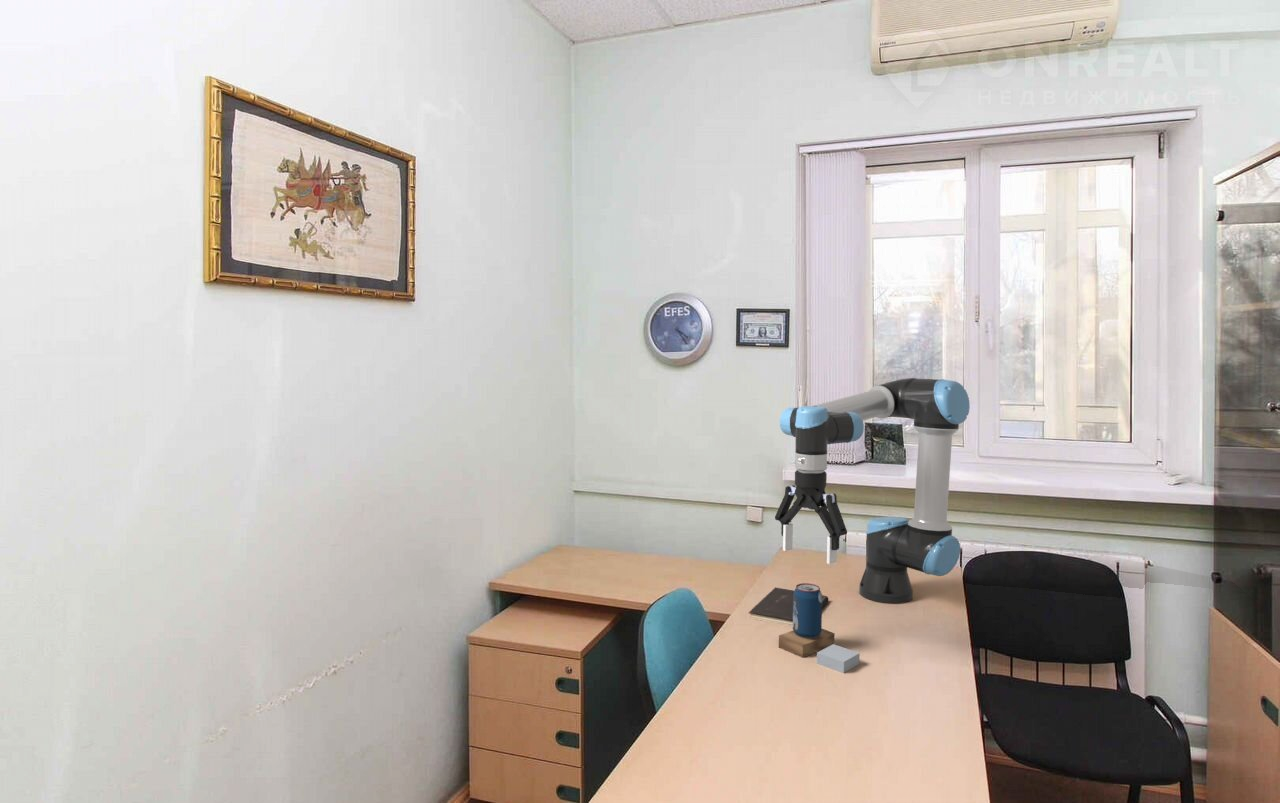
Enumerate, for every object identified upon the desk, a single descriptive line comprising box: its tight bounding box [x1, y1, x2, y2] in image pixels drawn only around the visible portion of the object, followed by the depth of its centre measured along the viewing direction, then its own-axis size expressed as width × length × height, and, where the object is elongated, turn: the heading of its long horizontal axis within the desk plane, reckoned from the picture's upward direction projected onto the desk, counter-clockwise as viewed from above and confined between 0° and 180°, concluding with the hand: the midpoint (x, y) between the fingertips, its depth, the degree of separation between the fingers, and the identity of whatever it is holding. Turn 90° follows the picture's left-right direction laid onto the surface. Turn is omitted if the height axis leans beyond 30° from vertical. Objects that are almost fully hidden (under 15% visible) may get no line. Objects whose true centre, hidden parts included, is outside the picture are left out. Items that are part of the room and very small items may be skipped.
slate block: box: [816, 643, 861, 674], centre depth 174 cm, size 7×7×3 cm
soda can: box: [792, 582, 823, 639], centre depth 183 cm, size 7×7×12 cm
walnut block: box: [778, 627, 835, 658], centre depth 184 cm, size 12×8×3 cm, turn 128°
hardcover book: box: [748, 587, 829, 627], centre depth 209 cm, size 16×23×2 cm
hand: (809, 556), depth 182 cm, fingers open, 13 cm apart
